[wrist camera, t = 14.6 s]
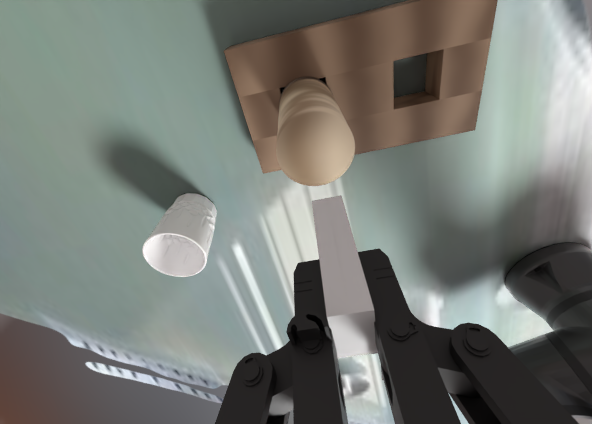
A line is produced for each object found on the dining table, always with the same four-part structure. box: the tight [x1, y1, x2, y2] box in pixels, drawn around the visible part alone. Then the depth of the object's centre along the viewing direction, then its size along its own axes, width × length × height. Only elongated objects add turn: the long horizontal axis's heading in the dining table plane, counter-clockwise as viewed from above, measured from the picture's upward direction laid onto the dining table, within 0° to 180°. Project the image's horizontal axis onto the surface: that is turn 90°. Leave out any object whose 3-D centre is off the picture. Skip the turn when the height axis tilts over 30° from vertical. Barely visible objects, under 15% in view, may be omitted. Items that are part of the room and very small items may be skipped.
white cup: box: [143, 193, 217, 277], centre depth 40 cm, size 8×8×10 cm
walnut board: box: [224, 0, 497, 173], centre depth 32 cm, size 26×14×4 cm, turn 102°
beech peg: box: [276, 76, 355, 186], centre depth 28 cm, size 6×6×16 cm
